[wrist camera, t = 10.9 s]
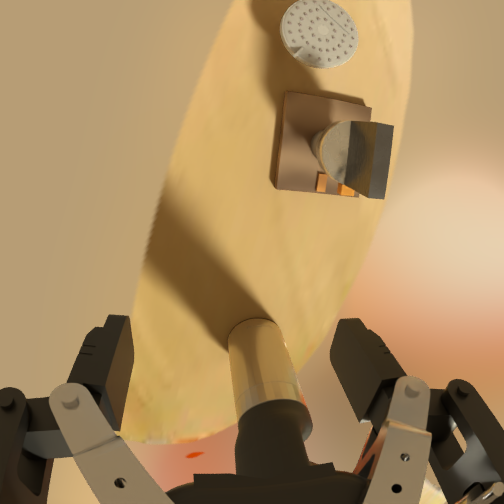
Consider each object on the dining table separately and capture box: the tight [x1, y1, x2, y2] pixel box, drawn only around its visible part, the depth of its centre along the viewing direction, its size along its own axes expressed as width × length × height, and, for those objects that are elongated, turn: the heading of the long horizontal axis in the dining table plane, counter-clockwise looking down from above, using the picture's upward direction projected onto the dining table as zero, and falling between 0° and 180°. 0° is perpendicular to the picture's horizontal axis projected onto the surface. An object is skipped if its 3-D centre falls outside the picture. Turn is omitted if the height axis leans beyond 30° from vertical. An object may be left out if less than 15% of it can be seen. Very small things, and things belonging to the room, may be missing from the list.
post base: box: [274, 91, 372, 198], centre depth 37 cm, size 13×12×8 cm
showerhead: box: [280, 0, 358, 69], centre depth 31 cm, size 9×7×10 cm
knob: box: [316, 120, 394, 199], centre depth 30 cm, size 7×8×8 cm
